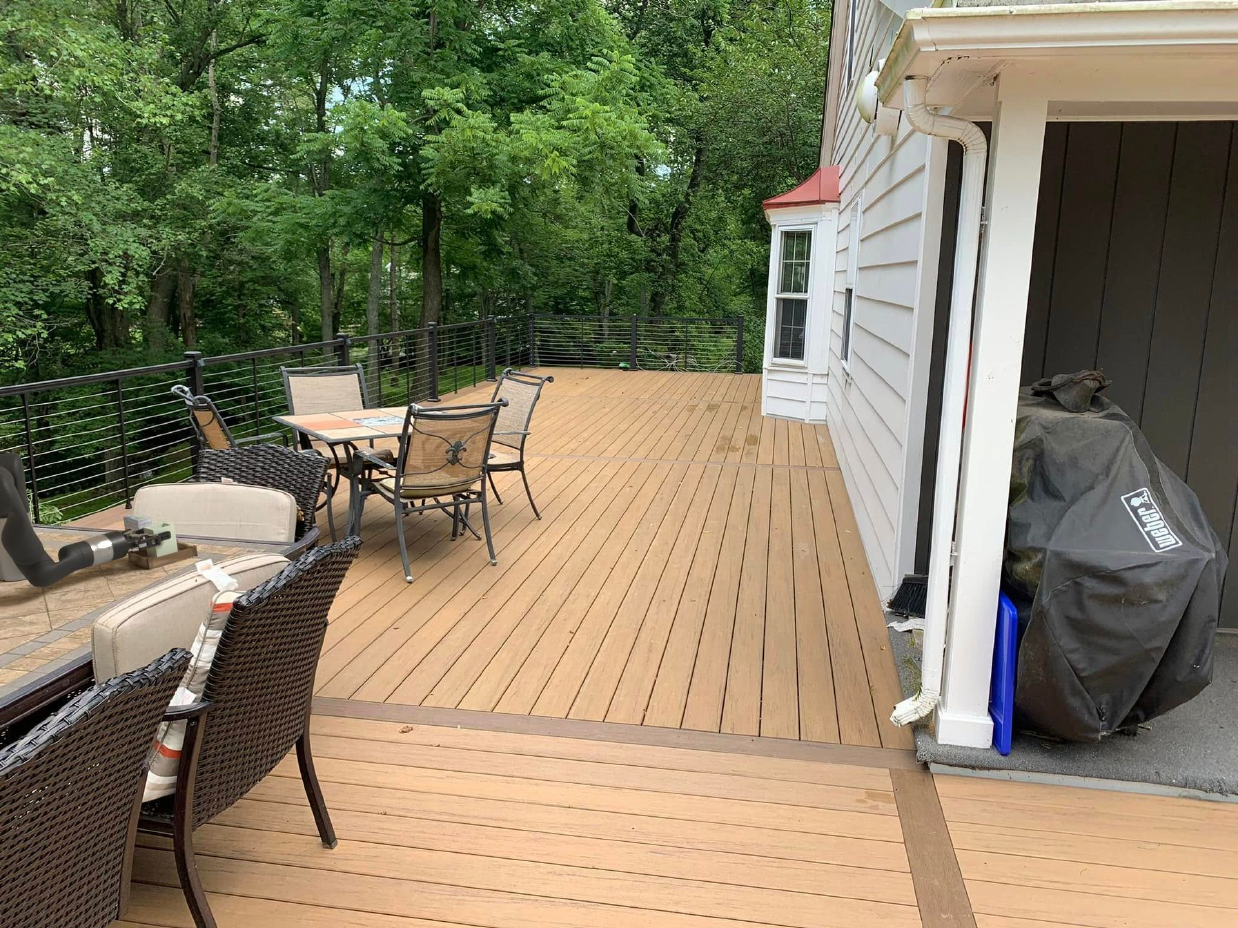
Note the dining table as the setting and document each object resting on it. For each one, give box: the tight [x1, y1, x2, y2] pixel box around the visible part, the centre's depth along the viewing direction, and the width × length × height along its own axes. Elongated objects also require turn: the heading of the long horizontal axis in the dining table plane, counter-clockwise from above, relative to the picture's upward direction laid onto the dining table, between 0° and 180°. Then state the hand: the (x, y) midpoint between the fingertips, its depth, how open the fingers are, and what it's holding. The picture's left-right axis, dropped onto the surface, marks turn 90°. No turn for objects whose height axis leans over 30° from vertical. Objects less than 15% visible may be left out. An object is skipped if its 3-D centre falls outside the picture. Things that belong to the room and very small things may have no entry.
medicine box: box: [123, 513, 154, 539], centre depth 264 cm, size 8×4×9 cm, turn 58°
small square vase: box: [143, 521, 178, 558], centre depth 251 cm, size 5×6×9 cm
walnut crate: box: [127, 538, 199, 570], centre depth 251 cm, size 12×14×3 cm
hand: (160, 532), depth 251 cm, fingers open, 8 cm apart
